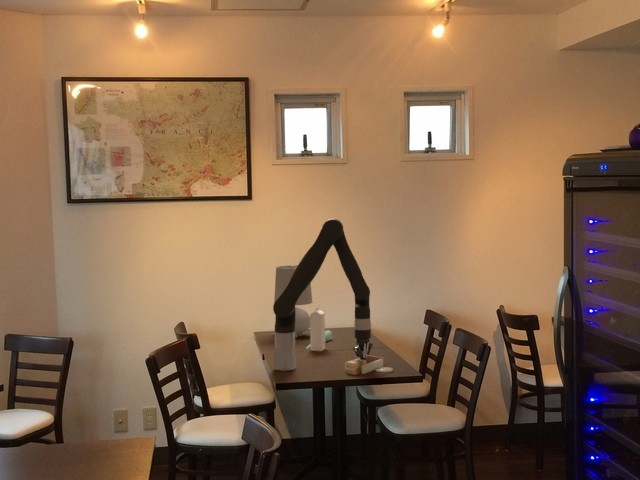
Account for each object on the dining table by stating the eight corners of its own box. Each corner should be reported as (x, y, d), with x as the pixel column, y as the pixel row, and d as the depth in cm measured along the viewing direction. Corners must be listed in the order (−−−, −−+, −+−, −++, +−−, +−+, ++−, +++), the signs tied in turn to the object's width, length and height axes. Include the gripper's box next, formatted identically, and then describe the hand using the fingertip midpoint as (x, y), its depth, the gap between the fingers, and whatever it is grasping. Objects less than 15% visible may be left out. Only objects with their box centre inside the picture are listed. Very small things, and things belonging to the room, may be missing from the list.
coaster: (387, 373, 310) (387, 372, 310) (371, 371, 314) (371, 369, 314) (396, 370, 316) (396, 368, 316) (381, 367, 321) (381, 366, 321)
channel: (363, 373, 310) (363, 364, 310) (345, 370, 316) (344, 362, 316) (384, 366, 324) (384, 357, 323) (366, 363, 330) (365, 354, 329)
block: (354, 374, 309) (354, 363, 309) (346, 373, 312) (346, 361, 312) (366, 371, 315) (365, 360, 315) (357, 369, 318) (357, 358, 318)
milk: (310, 350, 359) (309, 308, 358) (314, 348, 365) (313, 306, 363) (322, 351, 357) (320, 308, 356) (325, 348, 363) (324, 306, 361)
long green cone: (301, 339, 363) (323, 329, 387) (301, 349, 363) (323, 339, 388) (310, 340, 361) (332, 330, 385) (311, 350, 361) (332, 340, 385)
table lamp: (265, 337, 396) (263, 266, 393) (288, 330, 414) (287, 263, 411) (298, 341, 383) (296, 268, 380) (320, 334, 400) (319, 264, 398)
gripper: (361, 331, 310) (362, 369, 312) (377, 326, 321) (377, 363, 322) (347, 329, 315) (348, 367, 316) (363, 324, 326) (364, 361, 327)
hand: (363, 365), depth 319 cm, fingers closed
